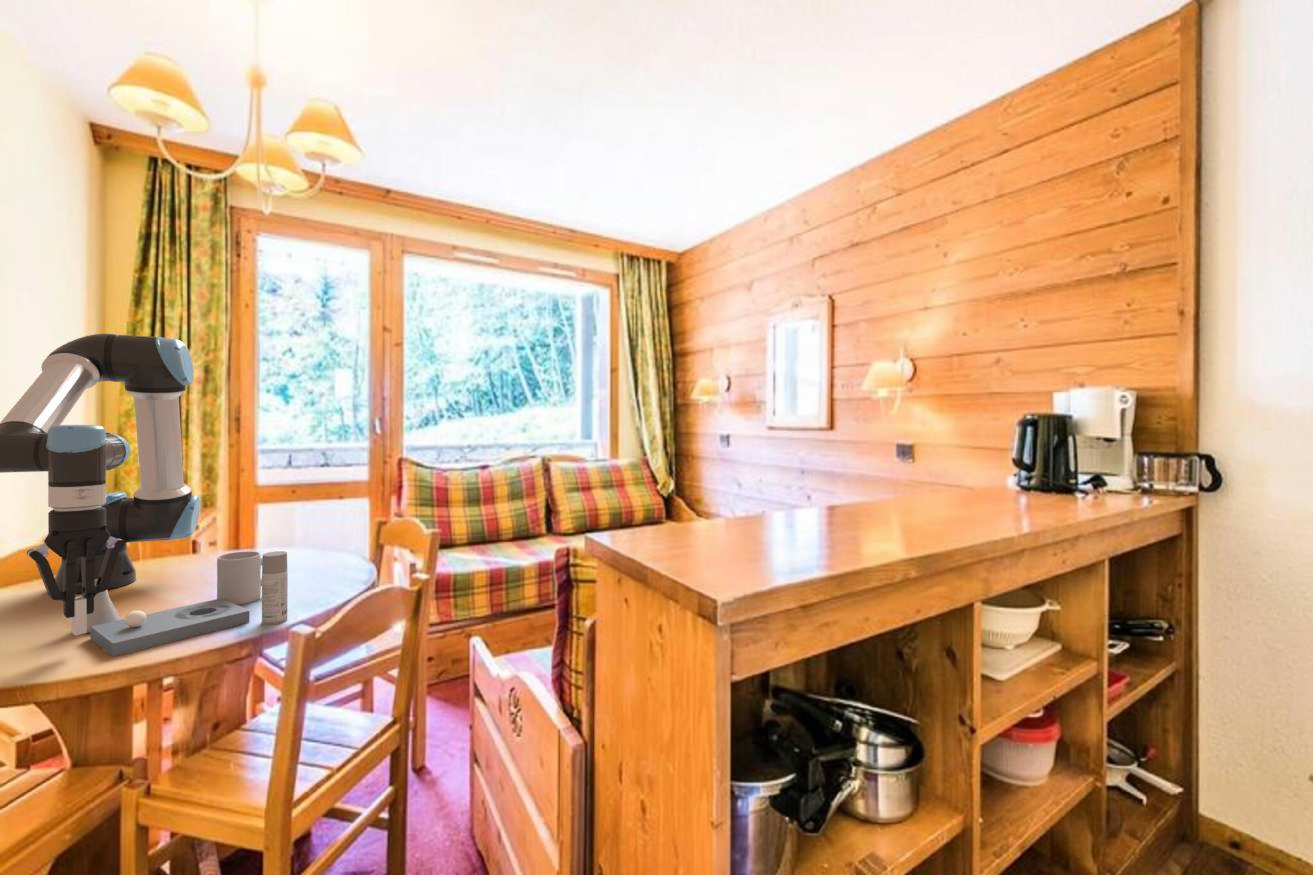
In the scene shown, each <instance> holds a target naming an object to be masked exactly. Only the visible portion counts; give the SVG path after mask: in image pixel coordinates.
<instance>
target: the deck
mask: <svg viewBox="0 0 1313 875" xmlns="http://www.w3.org/2000/svg"><path fill="white" fill-rule="evenodd" d="M145 614H146V621H145V622H144V623H143V624H142V625H141V626H138V627H129V626H127V625H126V624H125V618H122V620H118V621H114V622H109V623H104V624H100V625H95V626H91V633H90V640H91V641H93V642H94V643H95V644H96V645H98V646H99V647H101V649H102V650H104V651H105V652H106V653H108V654H109V655H110V656H112V657H113V658H114V657H117V656H122V655H125V654H129V653H133V652H136V651H140V650H145V649H148V648H152V647H156V646H160V645H165V644H168V643H173V642H175V641H176V642H177V641H180V640H183V639H188V638H192V637H196V636H200V635H203V634H204V635H205V634H207V633H208V634H209V633H210V632H215V631H220V630H222V629H227V628H231V627H235V626H238V625H244V624H246V623H250V610H249V609H246V608H244V607H242V606H241V605H236V604H234V603H232V602H230V601H228V600H226V599H223V598H220V599H217V598H216V599H211V600H207V601H203V602H197V603H192V604H189V605H184V606H179V607H174V608H169V609H166V610H160V611H155V612H151V613H145Z"/></svg>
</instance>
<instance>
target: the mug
mask: <svg viewBox="0 0 1313 875" xmlns="http://www.w3.org/2000/svg"><path fill="white" fill-rule="evenodd" d="M262 559H263V557H261V553H260V552H258V551H250V550H249V551H234V552H230V553H229V552H228V553H225V554H221V555H220V556H217V559H216V599H220V598H223V599H226V600H228V601H230V602H232V603H234V604H236V605H238V606H241V605H247V604H250V603H254V602H256V601H258V600H260V598H261V597H262V575H261V571H262Z"/></svg>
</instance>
